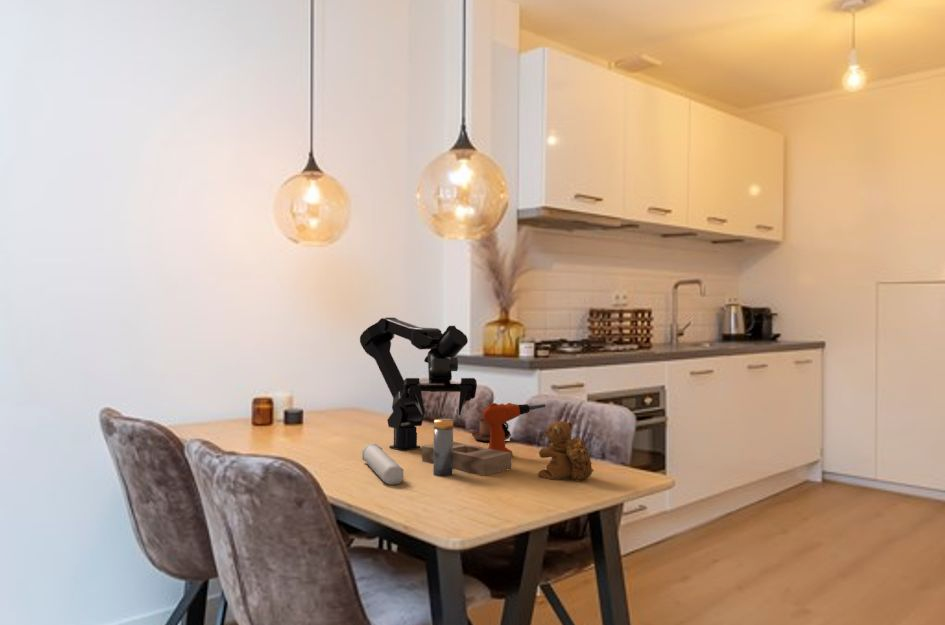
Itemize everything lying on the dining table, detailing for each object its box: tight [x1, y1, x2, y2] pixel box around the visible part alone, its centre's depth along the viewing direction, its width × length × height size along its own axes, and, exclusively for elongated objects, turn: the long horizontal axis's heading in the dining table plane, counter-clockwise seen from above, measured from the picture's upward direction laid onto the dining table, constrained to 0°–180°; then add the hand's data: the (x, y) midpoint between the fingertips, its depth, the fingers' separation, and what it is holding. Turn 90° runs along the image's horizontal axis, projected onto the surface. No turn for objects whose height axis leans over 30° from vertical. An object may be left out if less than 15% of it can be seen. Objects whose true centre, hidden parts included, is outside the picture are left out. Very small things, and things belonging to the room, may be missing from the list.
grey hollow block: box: [421, 441, 513, 476], centre depth 175 cm, size 22×10×4 cm, turn 47°
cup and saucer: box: [471, 418, 512, 443], centre depth 211 cm, size 12×12×6 cm
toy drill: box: [482, 402, 547, 455], centre depth 188 cm, size 5×19×15 cm, turn 106°
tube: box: [361, 443, 404, 486], centre depth 165 cm, size 5×5×25 cm
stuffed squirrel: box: [537, 420, 594, 482], centre depth 163 cm, size 10×14×13 cm
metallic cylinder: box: [432, 418, 454, 477], centre depth 165 cm, size 5×5×13 cm
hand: (441, 414), depth 173 cm, fingers open, 9 cm apart
